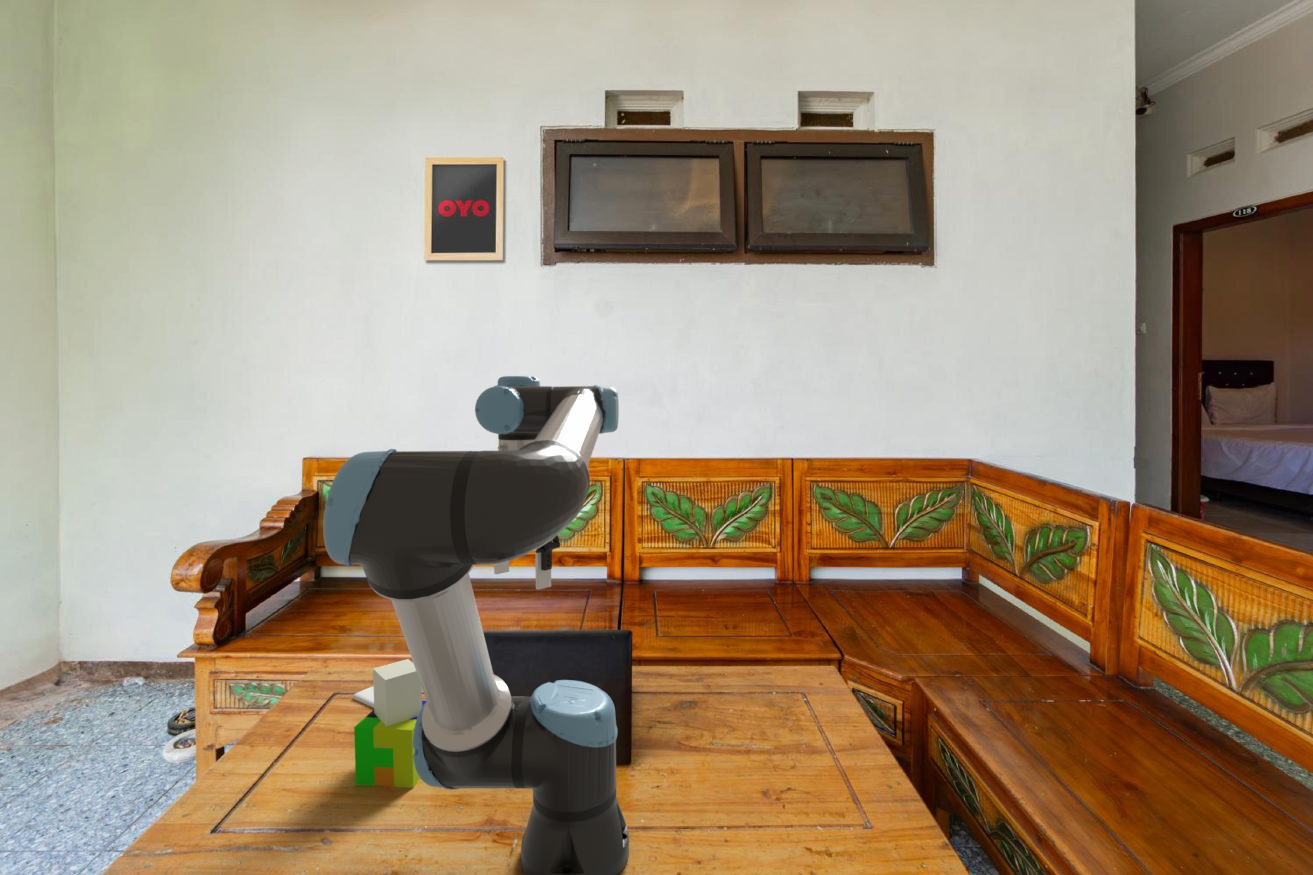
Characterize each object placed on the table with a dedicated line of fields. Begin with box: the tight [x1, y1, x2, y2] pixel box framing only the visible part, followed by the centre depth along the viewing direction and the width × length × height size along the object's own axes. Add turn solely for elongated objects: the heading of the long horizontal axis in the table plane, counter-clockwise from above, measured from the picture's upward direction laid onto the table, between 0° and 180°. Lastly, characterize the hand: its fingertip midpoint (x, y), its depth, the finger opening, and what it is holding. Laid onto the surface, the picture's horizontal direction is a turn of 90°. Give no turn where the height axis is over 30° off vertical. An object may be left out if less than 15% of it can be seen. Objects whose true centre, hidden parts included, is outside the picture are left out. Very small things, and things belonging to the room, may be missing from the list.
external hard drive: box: [353, 685, 424, 709], centre depth 136 cm, size 2×8×12 cm
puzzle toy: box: [353, 699, 427, 789], centre depth 110 cm, size 10×10×10 cm
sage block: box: [372, 658, 423, 727], centre depth 109 cm, size 6×6×8 cm
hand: (521, 580), depth 114 cm, fingers open, 13 cm apart
